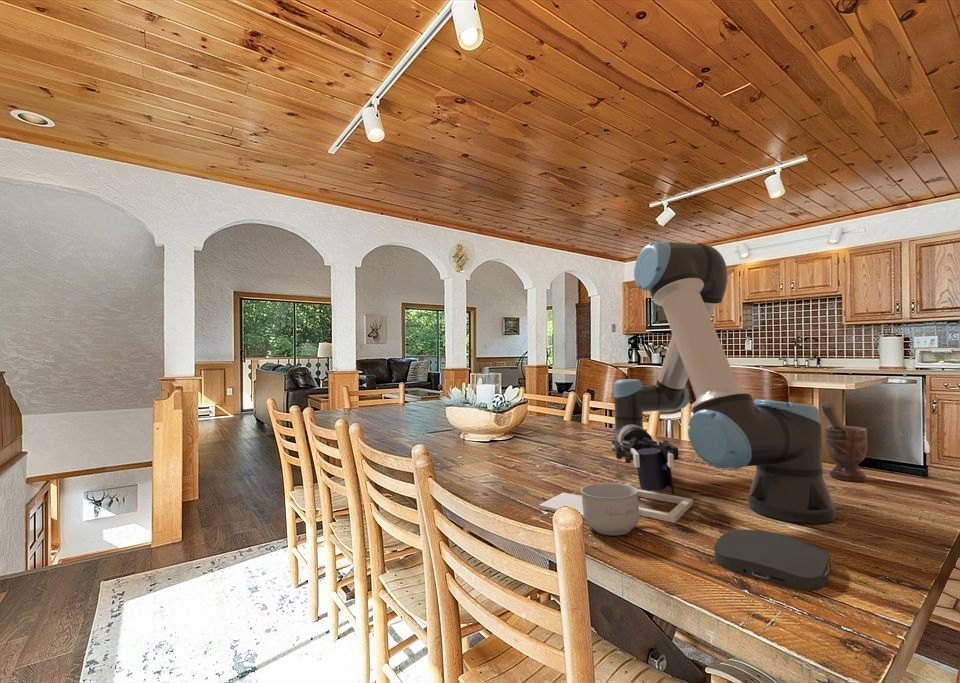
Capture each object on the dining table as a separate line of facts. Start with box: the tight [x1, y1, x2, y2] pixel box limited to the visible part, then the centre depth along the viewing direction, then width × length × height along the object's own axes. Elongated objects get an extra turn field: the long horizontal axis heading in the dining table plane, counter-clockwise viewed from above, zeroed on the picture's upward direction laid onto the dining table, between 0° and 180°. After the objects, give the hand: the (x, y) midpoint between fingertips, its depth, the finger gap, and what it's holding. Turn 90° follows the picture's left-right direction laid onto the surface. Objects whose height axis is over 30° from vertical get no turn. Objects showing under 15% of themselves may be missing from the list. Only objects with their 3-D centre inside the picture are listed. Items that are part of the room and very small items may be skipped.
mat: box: [538, 492, 585, 520], centre depth 100 cm, size 11×11×1 cm
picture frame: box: [637, 488, 694, 524], centre depth 99 cm, size 14×14×1 cm
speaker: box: [636, 441, 676, 496], centre depth 100 cm, size 8×6×10 cm
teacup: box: [580, 482, 640, 537], centre depth 88 cm, size 14×11×8 cm
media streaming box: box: [713, 529, 832, 592], centre depth 72 cm, size 15×15×3 cm
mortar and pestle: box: [821, 402, 868, 483], centre depth 116 cm, size 12×9×20 cm
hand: (654, 461), depth 95 cm, fingers closed on speaker, 6 cm apart
